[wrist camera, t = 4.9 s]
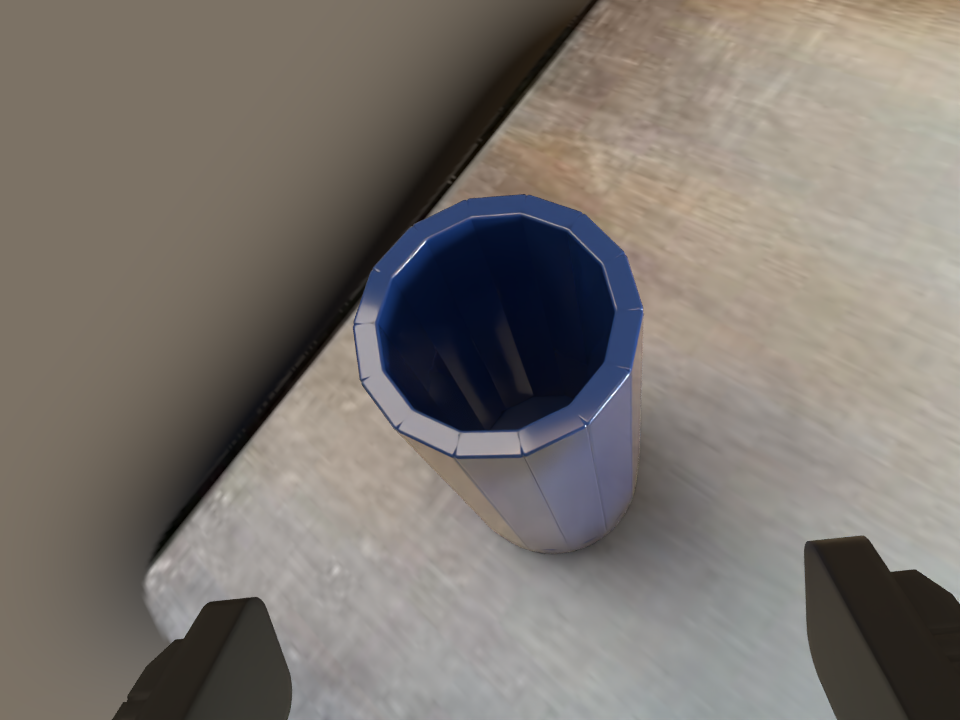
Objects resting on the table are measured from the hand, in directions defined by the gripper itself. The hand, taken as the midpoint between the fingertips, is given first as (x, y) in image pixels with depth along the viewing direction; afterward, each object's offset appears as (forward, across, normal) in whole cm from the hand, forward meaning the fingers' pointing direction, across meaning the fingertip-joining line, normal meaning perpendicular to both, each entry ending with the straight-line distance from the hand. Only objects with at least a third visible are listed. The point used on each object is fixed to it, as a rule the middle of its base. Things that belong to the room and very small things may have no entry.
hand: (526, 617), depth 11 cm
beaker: (+10, 0, +3) cm, 10 cm away
